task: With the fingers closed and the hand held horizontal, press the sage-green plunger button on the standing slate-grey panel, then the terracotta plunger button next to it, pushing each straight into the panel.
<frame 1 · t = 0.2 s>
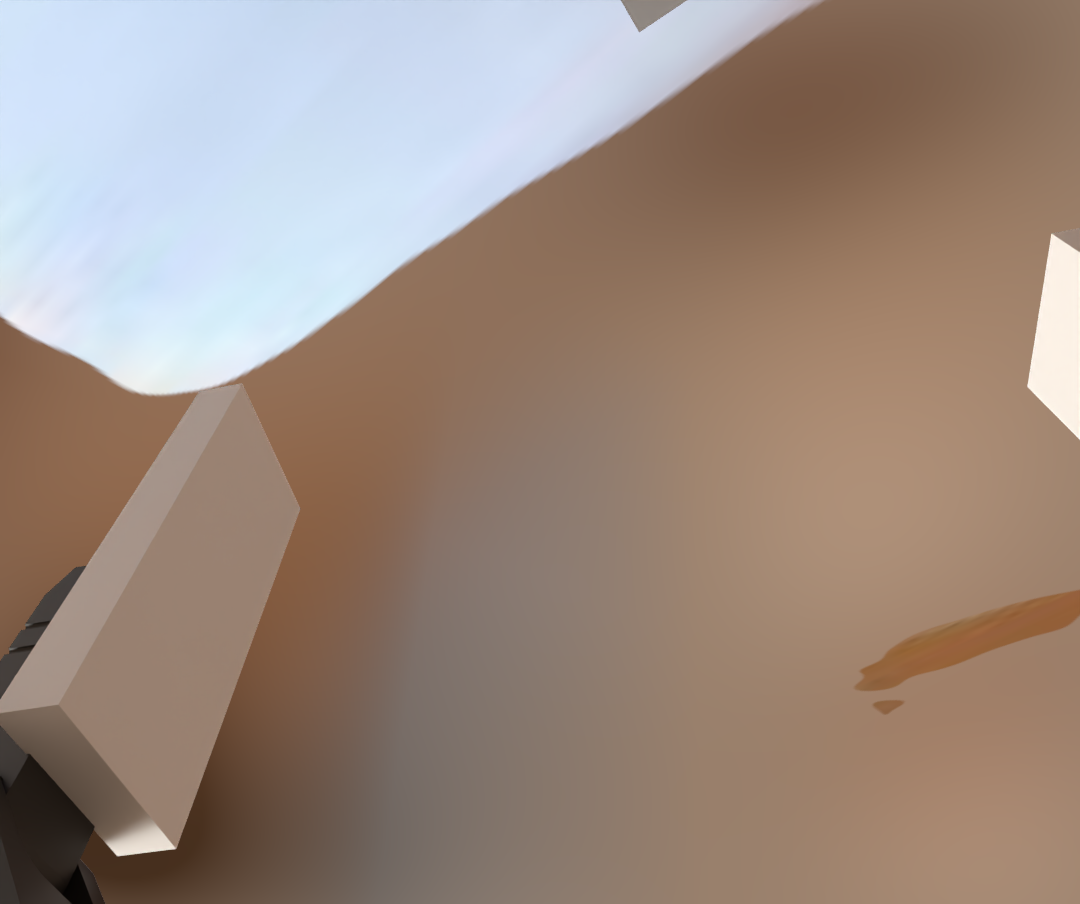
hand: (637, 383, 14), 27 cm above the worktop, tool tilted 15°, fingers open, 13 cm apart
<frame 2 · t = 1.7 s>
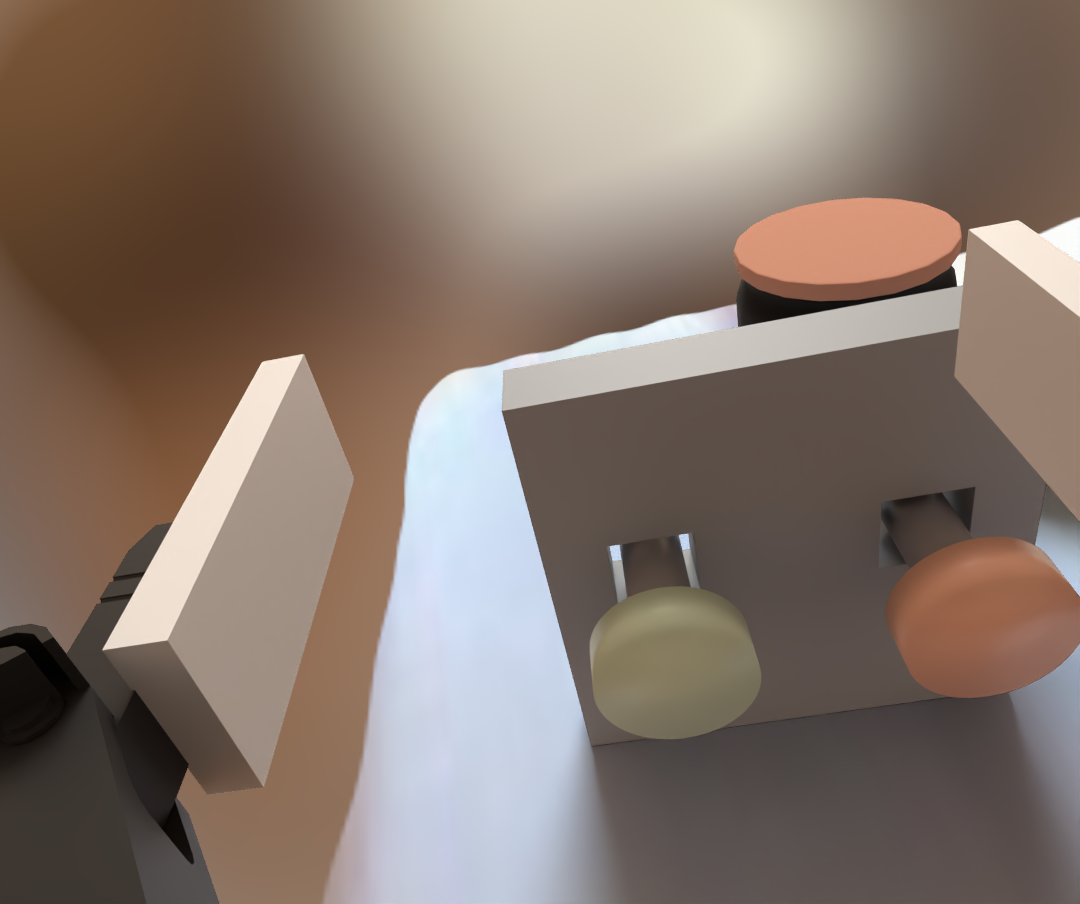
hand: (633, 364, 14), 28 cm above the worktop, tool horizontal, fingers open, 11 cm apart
panel: (794, 718, 40), on the worktop
coffee jar: (840, 516, 51), on the worktop
terracotta button: (943, 558, 32), point 11 cm above the worktop, slide at 0.0 cm
sage button: (660, 601, 33), point 11 cm above the worktop, slide at 0.0 cm
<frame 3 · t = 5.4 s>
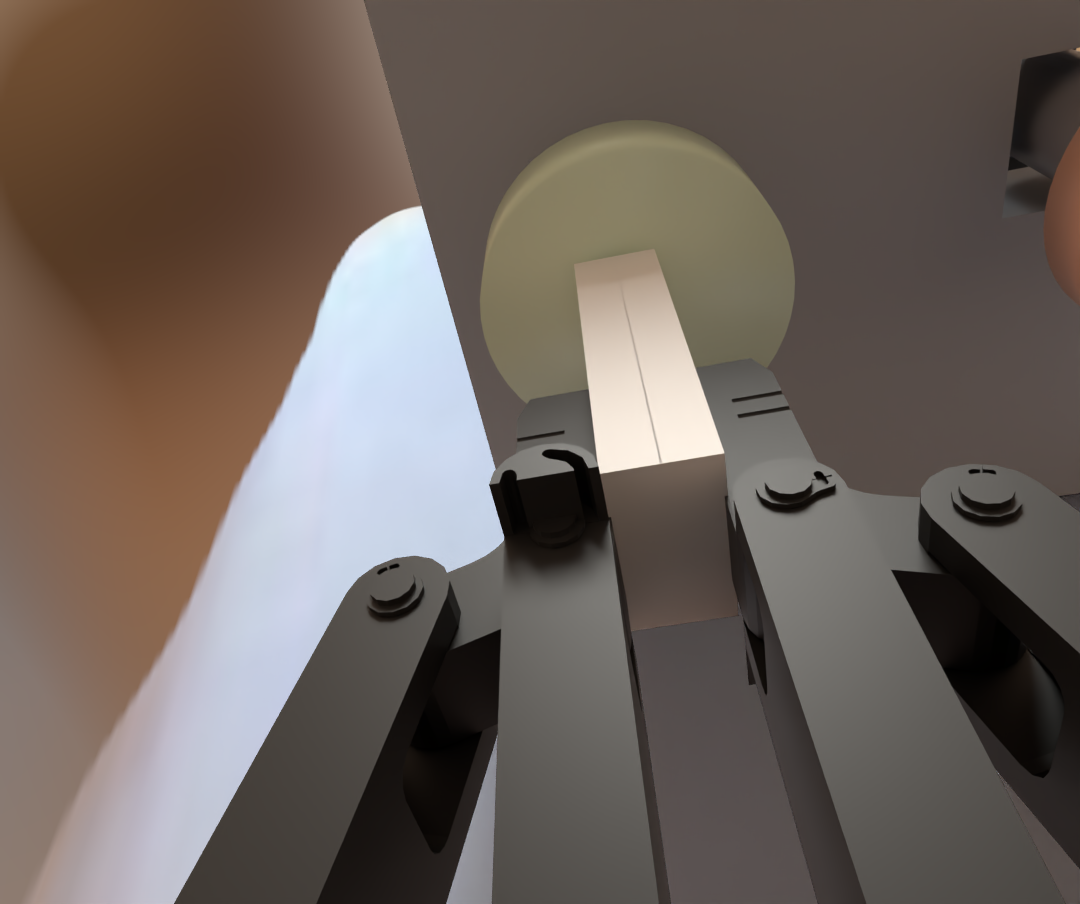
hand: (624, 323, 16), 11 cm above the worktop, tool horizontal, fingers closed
panel: (842, 528, 26), on the worktop
sage button: (618, 231, 19), point 11 cm above the worktop, slide at 1.0 cm, touching gripper
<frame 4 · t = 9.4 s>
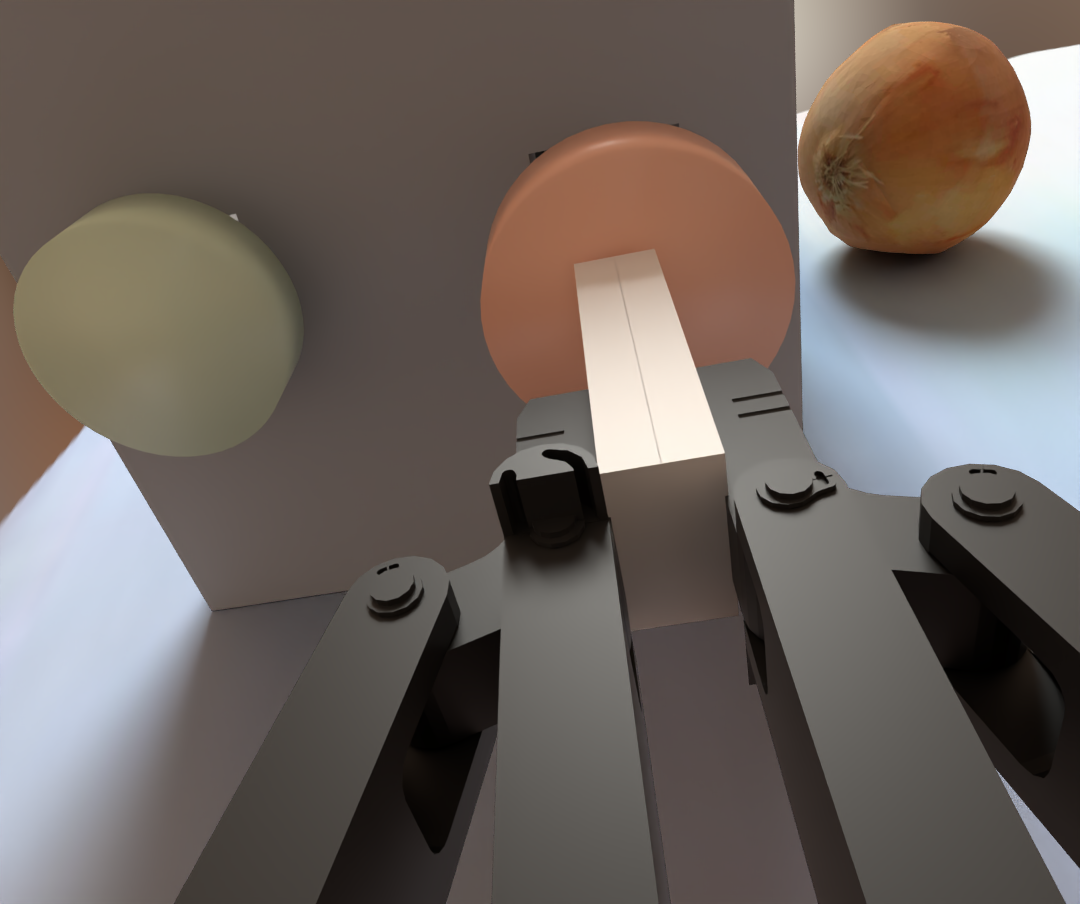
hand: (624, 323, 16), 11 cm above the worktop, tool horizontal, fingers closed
panel: (496, 568, 27), on the worktop
terracotta button: (618, 232, 19), point 11 cm above the worktop, slide at 0.3 cm, touching gripper
sage button: (211, 277, 23), point 11 cm above the worktop, slide at 2.8 cm
onion: (902, 251, 41), on the worktop
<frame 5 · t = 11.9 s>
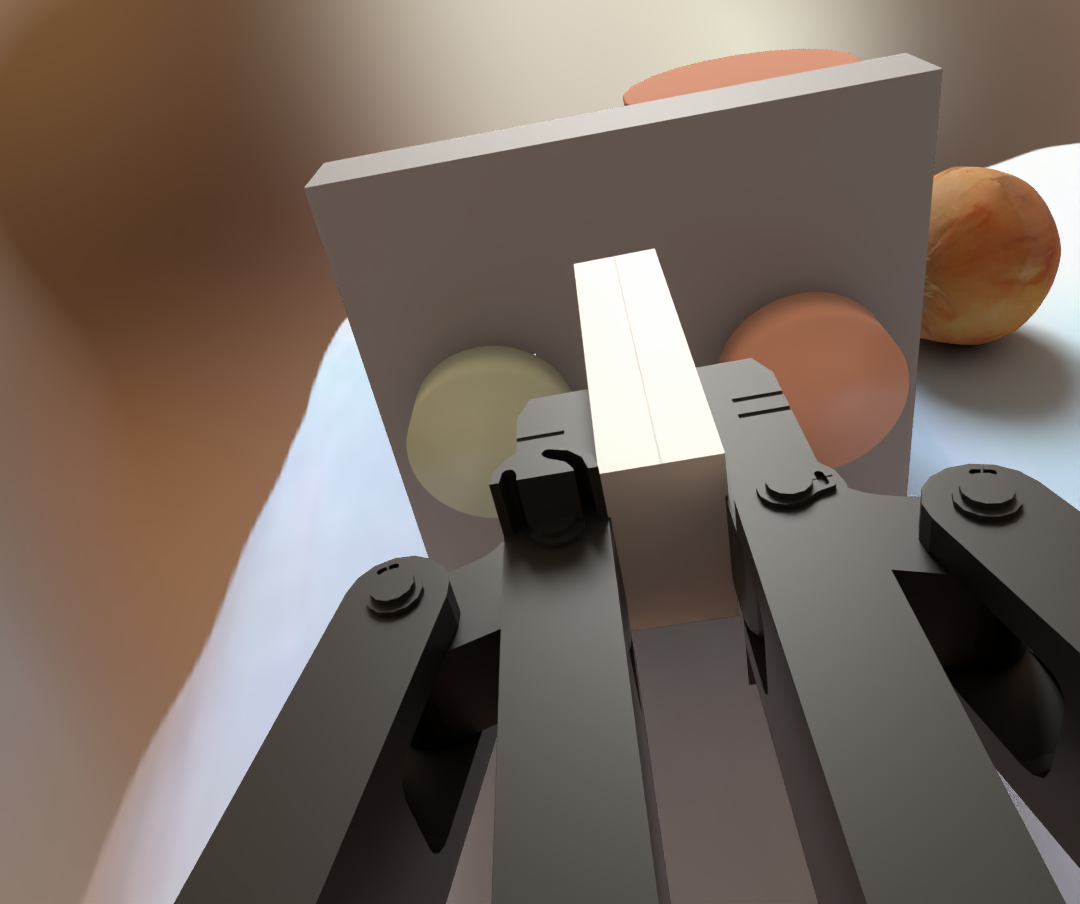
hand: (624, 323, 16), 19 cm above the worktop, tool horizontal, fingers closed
panel: (669, 594, 37), on the worktop
coffee jar: (752, 411, 48), on the worktop
terracotta button: (785, 342, 31), point 11 cm above the worktop, slide at 2.9 cm
sage button: (498, 389, 32), point 11 cm above the worktop, slide at 2.8 cm
onion: (952, 338, 51), on the worktop
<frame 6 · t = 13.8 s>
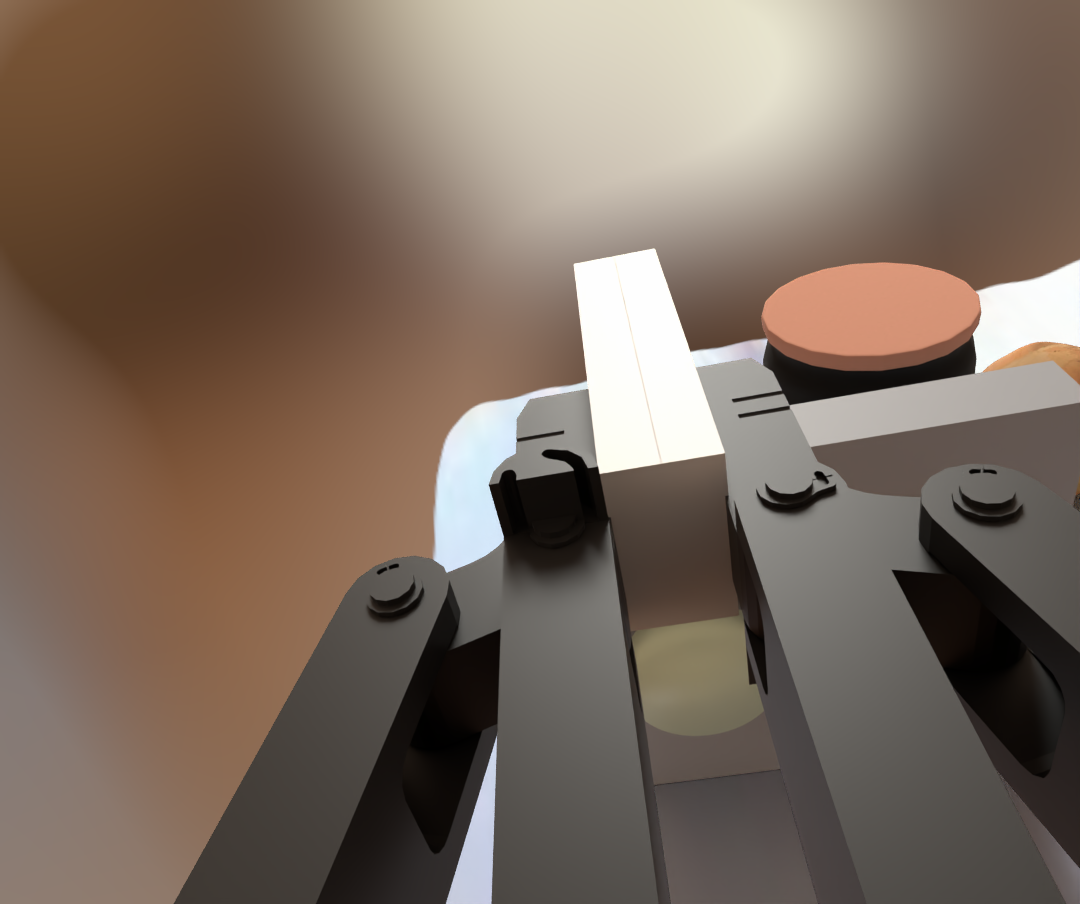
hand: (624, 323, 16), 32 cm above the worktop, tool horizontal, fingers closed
panel: (819, 764, 42), on the worktop
coffee jar: (859, 560, 53), on the worktop
sage button: (687, 614, 37), point 11 cm above the worktop, slide at 2.8 cm
onion: (1034, 483, 56), on the worktop
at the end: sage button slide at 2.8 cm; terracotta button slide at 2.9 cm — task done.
